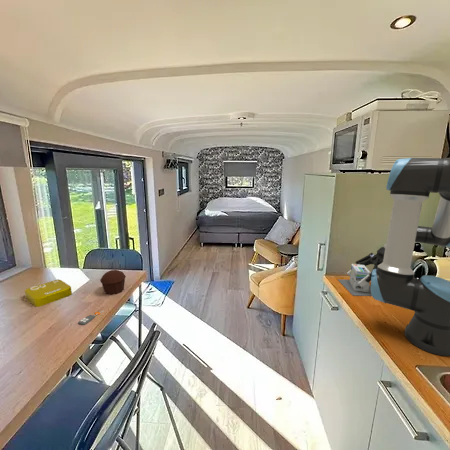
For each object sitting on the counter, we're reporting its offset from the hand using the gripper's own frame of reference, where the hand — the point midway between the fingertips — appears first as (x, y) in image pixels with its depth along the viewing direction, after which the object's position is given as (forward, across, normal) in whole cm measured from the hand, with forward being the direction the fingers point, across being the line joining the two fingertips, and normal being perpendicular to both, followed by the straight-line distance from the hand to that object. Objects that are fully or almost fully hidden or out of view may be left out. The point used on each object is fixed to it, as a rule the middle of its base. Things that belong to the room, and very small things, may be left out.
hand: (354, 279), depth 133 cm
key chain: (+89, -30, +81) cm, 124 cm away
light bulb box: (+1, 0, -5) cm, 5 cm away
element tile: (+109, -14, +102) cm, 150 cm away
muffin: (+89, -8, +83) cm, 122 cm away
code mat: (+1, 0, -5) cm, 5 cm away
